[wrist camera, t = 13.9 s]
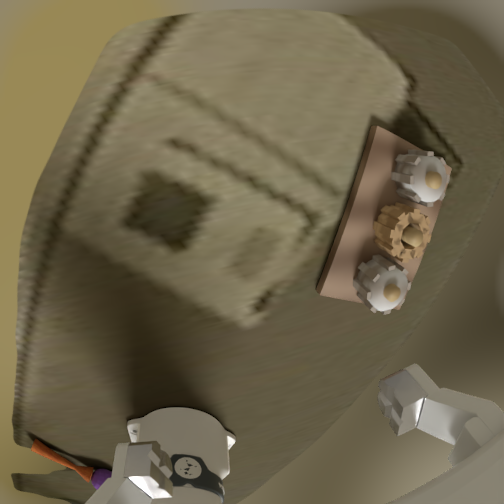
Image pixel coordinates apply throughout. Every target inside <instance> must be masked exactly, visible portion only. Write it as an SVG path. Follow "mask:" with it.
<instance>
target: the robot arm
mask: <svg viewBox="0 0 504 504" xmlns="http://www.w3.org/2000/svg"><path fill="white" fill-rule="evenodd" d="M378 387H379V388H380V390H381V391H380V392H379V393H378V404H379V407H380V409H381V411H382V413H383V415H384V416H386V417H388V418H390V426H391V427H392V429H393V430H394V432H395V434H396V435H397V436H399V435H401V434H403V433H405V432H408V431H410V430H411V429H414V428H416V427H417V428H418V429H420V430H422V431H424V432H427V433H429V434H431V435H433V436H435V437H437V438H440V439H442V440H444V441H446V442H448V443H450V444H453V445H454V447H453V449H452V451H451V453H450V454H449V457H448V460H449V461H450V463H451V464H452V466H453V467H452V468H450V469H449V470H447V471H446V472H444V473H442V474H441V475H439V476H438V477H436V478H434V479H432V480H431V481H429V482H427V483H426V484H424V485H422V486H420V487H418V488H416V489H415V490H413V491H411V492H409V493H407V494H405V495H403V496H401V497H399V498H397V499H395V500H393V501H391V502H389V503H386V504H504V412H503V411H502V410H501V409H500V408H499V407H498V406H497V405H496V404H495V403H494V402H493V401H490V400H486V399H482V398H478V397H475V396H471V395H467V394H464V393H460V392H457V391H453V390H449V389H446V388H441V389H439V387H438V386H437V385H436V384H435V383H434V382H433V381H432V380H431V379H430V378H429V376H428V375H427V374H426V373H425V372H424V371H423V370H422V369H421V367H420V366H419V365H418V364H413V365H411V366H409V367H406V368H405V369H402V370H399V371H398V372H395V373H393V374H391V375H389V376H387V377H385V378H382V379H380V381H379V386H378ZM127 428H128V431H129V435H130V438H131V441H132V443H119V444H118V445H117V447H116V451H115V457H114V463H113V469H112V476H111V478H107V480H106V481H105V482H104V483H103V484H102V485H101V486H100V487H99V489H98V490H97V491H96V492H95V493H94V494H93V495H92V496H91V498H90V499H89V500H88V501H87V502H86V503H85V504H222V503H223V502H224V487H223V482H222V479H224V478H225V477H226V476H227V474H229V472H230V466H229V451H228V450H229V449H230V448H231V447H232V445H233V444H234V443H235V436H234V435H233V434H232V433H230V432H228V431H226V430H225V429H224V428H223V427H222V425H221V424H220V422H219V421H218V420H217V419H215V418H214V417H212V416H211V415H209V414H207V413H205V412H202V411H199V410H195V409H190V408H182V407H171V408H163V409H159V410H156V411H153V412H151V413H149V414H148V415H146V416H144V417H142V418H138V419H132V420H129V421H128V422H127Z"/></svg>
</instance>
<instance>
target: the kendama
mask: <svg viewBox="0 0 504 504" xmlns="http://www.w3.org/2000/svg"><path fill="white" fill-rule="evenodd" d="M31 451H33V452H35V453H38V454H40V455H42V456H44V457H46V458H48V459H50V460H53V461H55V462H57V463H60V464H62V465H64V466H67V467H69V468H72V469H74V470H76V471H77V472H78V473H79V474H80V475H81V476H82V477H83V478H84V479H85V480H86V481H87V482H89V480H90V479H91V481H92V484H93V486H94V487H95V488H96V489H97V490H98V489H99V487H100V486H101V485H102V484H103V483H104V482H105V481H106V480H107V478H111V476H112V472H111V471H109V470H107V469H98V470H95V471H94V472H93V467H84V466H76V465H74V464H73V463H71V462H70V461H68V460H66V459H65V458H63V457H62V456H60V455H59V454H57V453H56V452H54V451H53V450H51V449H50V448H49V447H47V446H46V445H44V444H43V443H42V442H40V441H39V440H37V439H35V441H34V443H33V445H32V449H31Z"/></svg>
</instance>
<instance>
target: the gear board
mask: <svg viewBox="0 0 504 504" xmlns="http://www.w3.org/2000/svg"><path fill="white" fill-rule="evenodd" d="M451 170H452V168H450V167H449V166H447V165H446V162H445V161H444V159H443V158H442V157H438V156H434V152H431V151H423V150H421V149H420V148H418V147H416V146H414V145H413V144H411V143H409V142H407V141H406V140H404V139H402V138H400V137H398V136H396V135H395V134H393V133H391V132H389V131H387V130H385V129H383V128H381V127H379V126H371V129H370V132H369V136H368V139H367V143H366V146H365V149H364V153H363V156H362V159H361V163H360V166H359V169H358V172H357V175H356V179H355V182H354V185H353V188H352V191H351V194H350V197H349V200H348V203H347V206H346V209H345V212H344V215H343V218H342V221H341V223H340V226H339V229H338V232H337V235H336V238H335V240H334V243H333V246H332V249H331V251H330V254H329V257H328V259H327V262H326V265H325V267H324V270H323V273H322V275H321V278H320V280H319V283H318V285H317V288H316V291H317V292H318V293H319V295H323V296H328V297H333V298H338V299H343V300H349V301H354V302H359V303H364V304H365V305H366V306H367V307H368V308H369V309H370V310H371V311H373V312H374V313H375V312H376V311H377V310H379V311H381V312H382V313H383V314H384V315H385V314H389V313H390V312H391V309H398V310H400V307H401V305H402V304H403V302H404V301H405V300H404V299H405V297H406V295H407V292H408V290H409V289H410V287H411V283H412V281H413V279H414V276H415V274H416V272H417V269H418V267H419V264H420V262H421V259H422V257H423V254H424V252H425V249H426V248H424V249H423V250H422V252H423V254H422V255H421V256H420V257H419V258H416V257H415V258H414V259H409V262H408V263H403V262H401V261H399V260H398V259H396V258H395V257H393V256H392V255H390V254H388V253H387V252H385V251H384V250H382V249H381V248H379V247H378V246H377V245H376V243H375V241H374V240H375V239H376V238H377V237H376V236H375V230H374V229H373V224H374V221H377V220H378V216H379V215H380V214H381V213H382V212H381V209H382V208H383V207H384V206H385V205H387V206H391V205H394V206H395V204H396V202H399V203H403V204H406V205H409V206H412V207H414V208H417V209H420V213H421V214H424V215H426V216H428V217H429V220H430V222H431V223H430V224H429V225H428V226H429V228H430V231H429V234H431V233H432V230H433V228H434V225H435V222H436V219H437V216H438V213H439V210H440V207H441V204H442V201H443V198H444V196H445V191H446V187H447V184H448V183H449V177H450V173H451ZM401 240H403V241H405V242H406V243H408V244H410V245H412V246H414V247H417V246H419V245H420V244H421V243H422V241H423V233H422V232H421V231H420V230H418V229H416V228H413V227H411V226H409V225H408V226H406V227H405V228H404V229H403V232H402V236H401ZM427 244H428V242H427ZM427 244H426V247H427Z"/></svg>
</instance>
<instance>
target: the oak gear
mask: <svg viewBox="0 0 504 504" xmlns="http://www.w3.org/2000/svg"><path fill="white" fill-rule="evenodd" d="M381 212H382V213H381V214H380V215H379V216H378V220H377V221H374V224H373V229H374V230H375V236H376V237H377V238H376V239H375V240H374V241H375V243H376V245H377V246H378V247H379V248H381V249H382V250H384V251H385V252H387V253H388V254H390V255H392V256H393V257H395V258H396V259H398V260H399V261H401V262H403V263H408V262H409V259H414V258H415V257H416V258H419V257H420V256H421V255H422V254H423V252H422V250H423V249H424V248H426V244H427V242H429V243H430V239H431V234H429V231H430V228H429V226H428V225H429V224H430V223H431V222H430V220H429V217H428V216H426V215H424V214H421V213H420V209H417V208H414V207H412V206H409V205H406V204H403V203H399V202H396V204H395V206H394V205H391V206H387V205H385V206H384V207H383V208H382V209H381ZM408 225H409V226H411V227H413V228H416V229H418V230H420V231H421V232H422V233H423V241H422V243H421V244H420V245H419V246H417V247H414V246H412V245H410V244H408V243H406V242H405V241H403V240H401V236H402V232H403V229H404V228H405V227H406V226H408Z"/></svg>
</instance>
